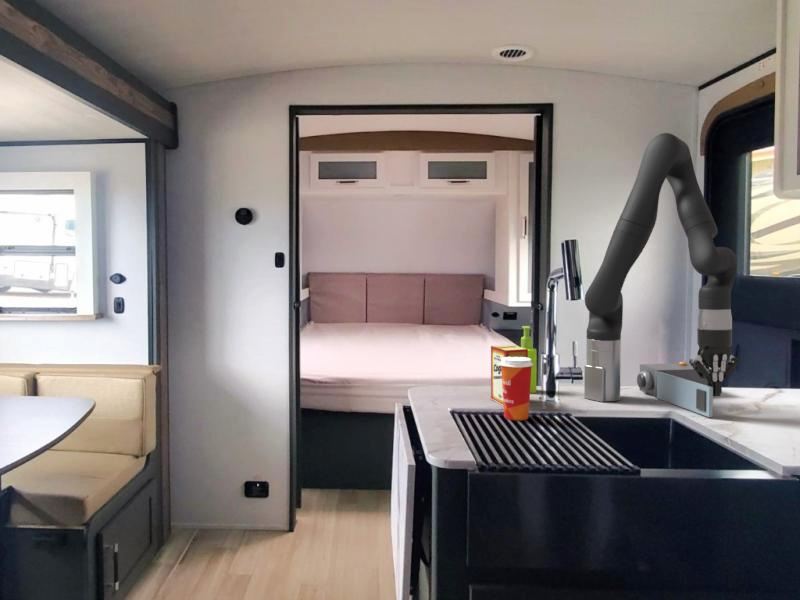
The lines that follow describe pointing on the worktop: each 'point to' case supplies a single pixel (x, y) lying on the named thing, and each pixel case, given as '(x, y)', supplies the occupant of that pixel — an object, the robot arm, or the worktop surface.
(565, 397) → the worktop surface
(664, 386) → the side door
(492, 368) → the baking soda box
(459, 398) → the worktop surface
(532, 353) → the soap dispenser
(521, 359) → the coffee cup
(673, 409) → the worktop surface
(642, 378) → the camera housing
